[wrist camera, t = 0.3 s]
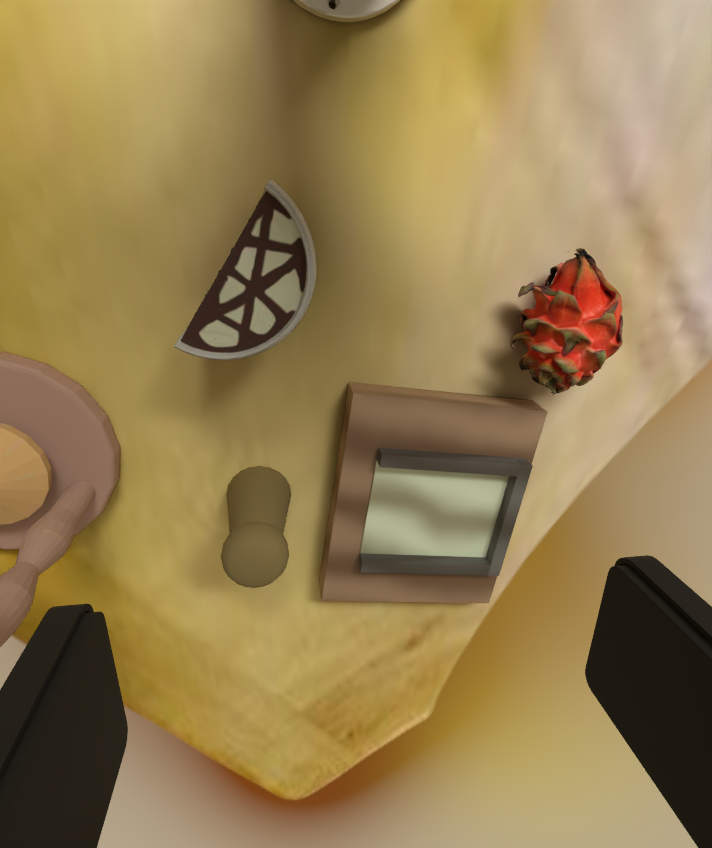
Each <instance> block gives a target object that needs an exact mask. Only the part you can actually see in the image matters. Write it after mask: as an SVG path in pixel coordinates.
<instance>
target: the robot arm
mask: <svg viewBox="0 0 712 848" xmlns="http://www.w3.org/2000/svg"><path fill="white" fill-rule="evenodd" d="M293 1H294V2H295V3H297V4H298V5H299V6H300V7H302V8H303V9H305V10H307V11H309V12H311V13H313V14H314V15H316V16H318V17H322V18H325V19H328V20H332V21H337V22H357V21H363V20H368V19H371V18H373V17H375V16H378V15H380V14H382V13H385V12H386V11H387V10H389V9H390V8H392V7H393V6H394V5H396V4H397V3H398V2H400V1H401V0H293ZM330 2H334V3H335V5H336V8H335V9H331V8H330V7H329V3H330ZM585 674H586V679H587V683H588V685H589V687H590V689H591V691H592V692H593V694H594V695H595V697H596V698H597V700H598V701H599V703H600V704H601V706H602V707H603V708H604V710H605V711H606V713H607V714H608V716H609V717H610V719H611V720H612V722H613V723H614V725H615V726H616V728H617V729H618V730H619V732H620V733H621V735H622V736H623V738H624V739H625V741H626V742H627V744H628V745H629V747H630V748H631V749H632V751H633V753H634V754H635V755H636V757H637V758H638V760H639V761H640V763H641V764H642V766H643V767H644V768H645V770H646V772H647V773H648V775H649V776H650V777H651V779H652V780H653V782H654V783H655V785H656V786H657V788H658V789H659V791H660V792H661V794H662V795H663V797H664V798H665V799H666V801H667V802H668V804H669V805H670V807H671V808H672V810H673V811H674V813H675V814H676V815H677V817H678V819H679V820H680V821H681V823H682V824H683V826H684V827H685V829H686V830H687V832H688V833H689V835H690V836H691V838H692V839H693V841H694V842H695V844H696V845H697V846H698V848H712V607H711V606H710V605H709V604H707V602H705V601H704V600H703V599H702V598H701V597H700V596H698V595H697V594H696V593H695V592H694V591H693V590H692V589H691V588H689V587H688V586H687V585H686V584H685V583H684V582H682V581H681V580H680V579H679V578H678V577H677V576H676V575H674V574H673V573H672V572H671V571H670V570H669V569H668V568H666V567H665V566H664V565H663V564H662V563H661V562H659V561H658V560H657V559H656V558H654V557H652V556H636V557H625V558H620V559H618V560H617V561H616V563H615V566H614V567H611V568H610V570H609V572H608V576H607V580H606V585H605V589H604V593H603V597H602V601H601V605H600V609H599V614H598V618H597V622H596V626H595V630H594V635H593V639H592V643H591V647H590V651H589V656H588V660H587V664H586V669H585ZM127 731H128V727H127V720H126V715H125V711H124V706H123V701H122V696H121V692H120V687H119V682H118V678H117V673H116V668H115V663H114V659H113V654H112V649H111V645H110V640H109V635H108V630H107V626H106V621H105V617H104V614H103V613H102V612H94V611H93V608H92V606H91V605H90V604H80V605H68V606H57V607H52V608H50V609H49V610H48V611H47V613H46V614H45V616H44V617H43V619H42V621H41V622H40V624H39V626H38V627H37V629H36V631H35V632H34V634H33V636H32V638H31V639H30V641H29V643H28V644H27V646H26V648H25V649H24V651H23V653H22V654H21V656H20V658H19V660H18V661H17V663H16V665H15V666H14V668H13V669H12V671H11V673H10V674H9V676H8V678H7V680H6V681H5V683H4V685H3V686H2V688H1V690H0V848H97V845H98V841H99V838H100V834H101V831H102V827H103V824H104V821H105V817H106V814H107V810H108V807H109V803H110V800H111V796H112V793H113V789H114V786H115V782H116V779H117V775H118V772H119V768H120V765H121V762H122V758H123V755H124V751H125V747H126V742H127Z"/></svg>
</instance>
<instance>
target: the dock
mask: <svg viewBox="0 0 712 848" xmlns="http://www.w3.org/2000/svg"><path fill="white" fill-rule="evenodd" d="M546 415H547V411H546V410H544V409H543V408H542V407H540V406H539V405H538V404H536V403H535V402H534V401H532V400H522V399H512V398H502V397H492V396H481V395H471V394H461V393H451V392H441V391H431V390H421V389H411V388H400V387H390V386H380V385H370V384H360V383H350V382H349V384H348V391H347V397H346V404H345V411H344V418H343V424H342V431H341V438H340V445H339V451H338V458H337V465H336V472H335V478H334V485H333V492H332V499H331V505H330V512H329V519H328V526H327V532H326V539H325V546H324V553H323V559H322V566H321V573H320V579H319V582H320V591H321V599H322V601H377V602H444V603H489V601H490V598H491V594H492V591H493V588H494V585H495V581H496V578H497V576H499V573H500V570H501V567H502V564H503V560H504V557H505V554H506V551H507V547H508V544H509V541H510V538H511V534H512V531H513V528H514V525H515V521H516V518H517V515H518V512H519V508H520V505H521V502H522V499H523V495H524V492H525V489H526V486H527V482H528V479H529V476H530V473H531V469H532V465H531V464H532V461H533V457H534V454H535V451H536V448H537V444H538V441H539V438H540V434H541V431H542V428H543V425H544V421H545V418H546Z"/></svg>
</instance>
